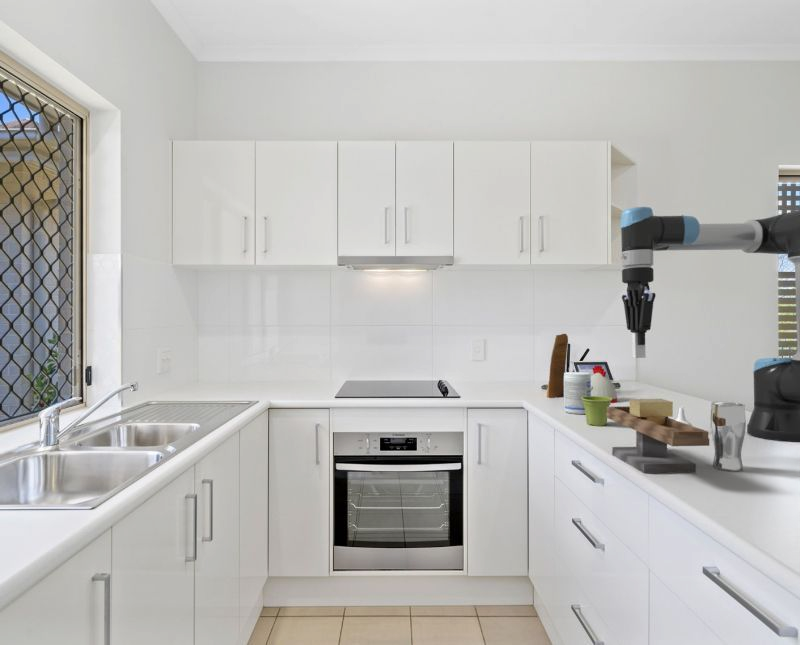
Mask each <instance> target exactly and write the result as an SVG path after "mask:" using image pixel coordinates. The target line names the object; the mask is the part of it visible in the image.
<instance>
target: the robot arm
mask: <svg viewBox="0 0 800 645" xmlns="http://www.w3.org/2000/svg"><path fill="white" fill-rule="evenodd" d="M620 220H621V221H620V229H621V230H620V232H621V233H620V235H621V255H620V258H621V267H622V268H623V269H622V270H621V281H622V283H623V284H627V287H626V294H623V295H622V296H621V299H622V303H623V307H624V314H625V320H626V329H627V330H628V331H630V333H631V336H632V342H631V343H632V344H631V345H632V358H635V359H641V358H642V359H644V358H646V356H647V355H646V333H647V332H648V331H650V330H651V327H652V319H653V309H654V302H655V299H656V292H651V291H650V283H652V282H654V279H655V278H654V275H655V274H654V268H653V267H652V266H654V252H655V251H656V252H659V251H718V250H719V251H725V250H726V251H728V250H730V251H732V250H738V251H739V250H740V251H742V252H744V253H747V254H771V255H772V254H773V255H787V260H788V261H790V263H792V264H793V265H794V274H795V275H794V277H795V284H794V285H795V310H796V311H795V313H796V316H795V317H796V339H797V340H796V342H797V343H796V344H797V346H796V347H797V352H796V353H795V354H793V355H792V356H790V357H771V358H770V357H768V358H759V359H757V360H755V361H754V366H753V371H752V372H753V410H752V412H751V414H750V418H749V421H748V423H747V425H746V433H747V434H748V435H750V436H754V437H756V438H762V439H767V440H774V441H785V442H800V209H797V210H794V211H789V212H785V213H781V214H778V215H774V216H770V217H767V218H761V219H748V220H746V221H745V222H743V223H741V222H740V223H738V222H737V223H700V222H699V220H698V219H697V218H696V217H695V216H692V215H684V214H681V215H654V213H653V209H652V208H651V207H648V206H636V207H630V208H626V209H625V210H623V211H622V213H621V218H620Z"/></svg>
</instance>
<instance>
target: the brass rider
mask: <svg viewBox="0 0 800 645" xmlns="http://www.w3.org/2000/svg"><path fill="white" fill-rule="evenodd" d="M673 405H674V403H673V401H671V400H668V399H663V398H629V406H630V414H633V415H636V416H638V417H642V418H643V419H646V420H648V421H651V422H654V423H656V424H659V425H665V417H668V418H671V417H674V414H673V412H674V410H673V407H674V406H673Z"/></svg>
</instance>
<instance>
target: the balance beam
mask: <svg viewBox="0 0 800 645" xmlns="http://www.w3.org/2000/svg"><path fill="white" fill-rule="evenodd" d="M606 418H607V420H608V419H609V420H610V421H614V422H616V423H618V424H620V425H622V426H625V427H627V428H630V429H632V430H634V431H635V432H636V433H635V436H636V437H635V440H636V442H635V444H636V446H611V447H612V449H611V450H612V453H611V454H612V456H613V457H616V458H617V459H619V460H620V461H623V462H624V463H626V464H627V465H629V466H631V467H633V468H634V469H636V470H637V471H639V472H641V473H643V474H661V473H662V472H679V473H696V472H697V470H696V469H697V468H696V466H697V465H696V464H697V463H696V462H694V461H691V460H689V459H687V458H685V457H682V456H681V455H679V454H676V453H674V452H672V451H669V450H668V446H671V447H706V446H707V447H709V446H710V437H709V430H704V429H702V428H699V427H696V426H693V425H692V424H691V425H692V426H691V425H688V424H685V423H682V422H679V421H676V419H672V418H671V417H665V425H659V424H656V423H654V422H651V421H648V420H646V419H643V418H642V417H638V416H636V415H633V414H630V405H628V406H609V407H607V412H606Z"/></svg>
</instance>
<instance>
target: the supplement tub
mask: <svg viewBox="0 0 800 645" xmlns="http://www.w3.org/2000/svg"><path fill="white" fill-rule="evenodd" d="M585 396H591V373H590V372H585V371H584V372H583V371H582V372H580V371H568V372H567V371H565V373H564V395H563V410H564V412H565V413H568V414H572V415H586V414H585V407H584V403H583V400H582V397H585Z"/></svg>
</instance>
